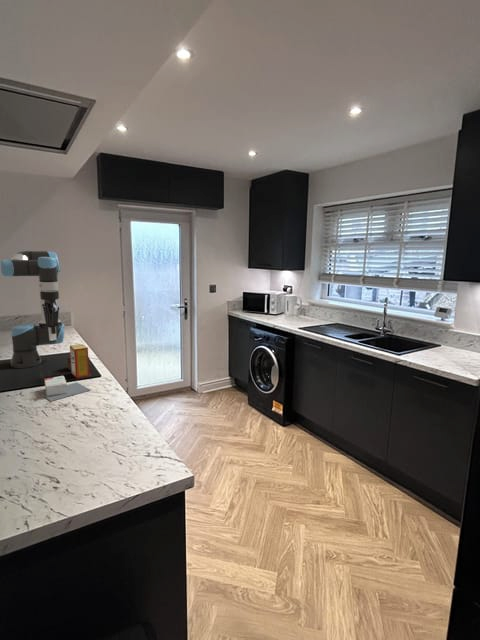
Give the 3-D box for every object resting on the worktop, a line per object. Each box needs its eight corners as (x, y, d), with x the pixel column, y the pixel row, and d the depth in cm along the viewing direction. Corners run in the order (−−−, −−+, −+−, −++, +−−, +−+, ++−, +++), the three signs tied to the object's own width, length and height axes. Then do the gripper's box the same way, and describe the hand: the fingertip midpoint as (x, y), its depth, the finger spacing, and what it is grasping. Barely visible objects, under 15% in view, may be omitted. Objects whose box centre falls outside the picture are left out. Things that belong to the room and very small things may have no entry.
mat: (38, 393, 164) (38, 392, 163) (76, 383, 177) (76, 382, 177) (51, 401, 155) (50, 400, 155) (90, 390, 168) (90, 389, 168)
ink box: (45, 388, 169) (46, 396, 159) (44, 378, 168) (45, 386, 158) (64, 385, 173) (67, 393, 163) (64, 375, 172) (66, 383, 162)
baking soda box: (89, 376, 188) (87, 346, 185) (76, 378, 184) (74, 348, 181) (84, 371, 195) (82, 343, 192) (71, 373, 191) (69, 344, 188)
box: (77, 371, 195) (76, 358, 194) (68, 370, 196) (67, 357, 195) (84, 367, 201) (83, 355, 200) (75, 366, 202) (74, 354, 201)
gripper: (34, 289, 164) (38, 338, 169) (46, 292, 156) (50, 344, 161) (51, 288, 170) (55, 336, 175) (63, 291, 162) (67, 341, 167)
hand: (53, 339), depth 168 cm, fingers closed
